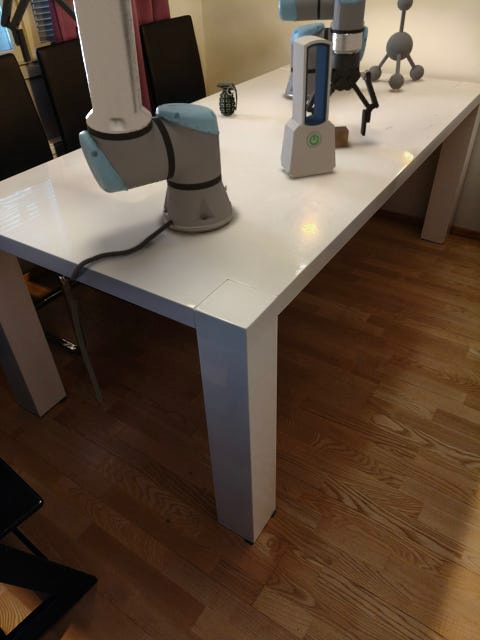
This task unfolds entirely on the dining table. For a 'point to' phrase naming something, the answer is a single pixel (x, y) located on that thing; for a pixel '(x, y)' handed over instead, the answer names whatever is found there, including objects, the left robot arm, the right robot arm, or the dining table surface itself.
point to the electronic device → (315, 130)
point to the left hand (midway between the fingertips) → (56, 59)
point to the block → (341, 136)
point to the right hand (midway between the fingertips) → (339, 136)
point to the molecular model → (399, 52)
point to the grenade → (227, 99)
